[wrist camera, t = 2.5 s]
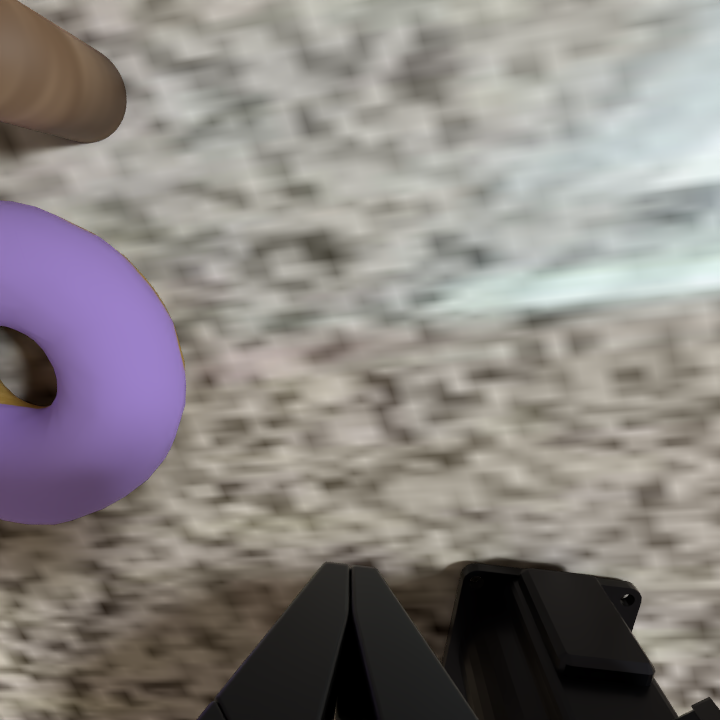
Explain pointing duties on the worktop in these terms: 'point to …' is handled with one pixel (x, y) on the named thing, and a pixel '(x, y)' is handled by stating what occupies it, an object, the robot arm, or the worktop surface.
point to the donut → (83, 371)
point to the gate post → (55, 79)
